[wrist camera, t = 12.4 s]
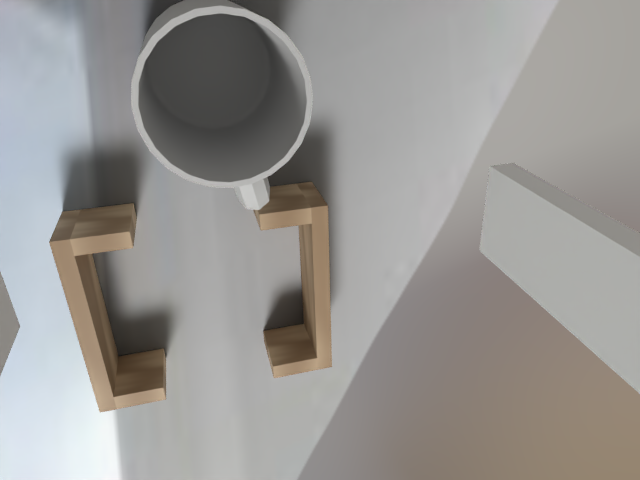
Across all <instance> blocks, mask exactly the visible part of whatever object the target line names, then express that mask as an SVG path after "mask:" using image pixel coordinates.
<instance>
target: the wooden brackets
mask: <svg viewBox="0 0 640 480" xmlns="http://www.w3.org/2000/svg"><path fill="white" fill-rule="evenodd" d="M254 213H255V216H256V219H257V221H258V224H259V227H260V230H268V229H275V228H282V227H290V226H297V225H299V241H300V261H301V280H302V299H303V318H304V324H299V325H293V326H288V327H282V328H277V329H271V330H265V331H263V332H264V342H265V346H266V350H267V354H268V357H269V361H270V365H271V369H272V373H273V376H274V378H278V377H283V376H288V375H293V374H298V373H303V372H308V371H313V370H318V369H323V368H328V367H332V355H331V312H330V270H329V228H328V205H327V203H326V202H325V200H324V199H323V198H322V196H321V195H320V193H319V192H318V190H317V189H316V187H315V186H314V184H313V183H312V182H305V183H297V184H288V185H280V186H272V187H270V197H269V202H268V203H267V204H266V205H264V206H263V207H262V208H261V209H260V210H254ZM136 220H137V217H136V212H135V207H134V203H130V204H122V205H113V206H105V207H97V208H88V209H80V210H72V211H63V212H62V214H61V216H60V218H59V221H58V223H57V225H56V228H55V230H54V232H53V234H52V237H51V239H50V241H49V243H50V246H51V249H52V253H53V256H54V260H55V263H56V266H57V270H58V273H59V276H60V280H61V283H62V286H63V290H64V293H65V296H66V300H67V303H68V307H69V310H70V313H71V317H72V320H73V323H74V327H75V330H76V333H77V337H78V340H79V344H80V347H81V350H82V354H83V357H84V360H85V364H86V367H87V370H88V374H89V377H90V381H91V384H92V387H93V391H94V394H95V397H96V401H97V404H98V407H99V411H100V412H105V411H110V410H115V409H120V408H125V407H130V406H135V405H140V404H145V403H150V402H155V401H161V400H166V357H165V352H164V348H163V349H158V350H152V351H147V352H141V353H135V354H130V355H124V356H118V353H117V349H116V345H115V341H114V337H113V333H112V329H111V325H110V322H109V318H108V314H107V310H106V306H105V302H104V298H103V295H102V291H101V287H100V283H99V279H98V275H97V271H96V267H95V264H94V260H93V256H92V254H93V253H100V252H107V251H115V250H122V249H129V248H133V245H134V237H135V228H136Z"/></svg>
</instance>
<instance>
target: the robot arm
mask: <svg viewBox="0 0 640 480" xmlns="http://www.w3.org/2000/svg"><path fill="white" fill-rule="evenodd" d="M480 252H482V253H483V254H484V255H485V256H486V257H487V258H488V259H489V260H491V261H492V262H493V263H494V264H495V265H496V266H497V267H498V268H499V269H501V270H502V271H503V272H504V273H505V274H506V275H508V277H510V278H511V279H512V280H513V281H514V282H515V283H516V284H517V285H518V286H520V287H521V288H522V289H523V290H524V291H525V292H526V293H527V294H529V295H530V296H531V297H532V298H533V299H534V300H535V301H536V302H538V303H539V304H540V305H541V306H542V307H543V308H544V309H545V310H547V311H548V312H549V313H550V314H551V315H552V316H553V317H554V318H555V319H557V320H558V321H559V322H560V323H561V324H562V325H563V326H564V327H566V328H567V329H568V330H569V331H570V332H571V333H572V334H573V335H574V336H576V337H577V338H578V339H579V340H580V341H581V342H582V343H584V344H585V345H586V346H587V347H588V348H589V349H590V350H591V351H593V352H594V353H595V354H596V355H597V356H598V357H599V358H600V359H602V360H603V361H604V362H605V363H606V364H607V365H608V366H609V367H610V368H611V369H613V370H614V371H615V372H616V373H617V374H618V375H619V376H620V377H622V378H623V379H624V380H625V381H626V382H627V383H628V384H629V385H630V386H632V387H633V388H634V389H635V390H636V391H637V392H638V393H639V394H640V233H639V232H637V231H635V230H633V229H631V228H630V227H628V226H626V225H624V224H622V223H620V222H619V221H617V220H615V219H613V218H612V217H610V216H608V215H606V214H604V213H603V212H601V211H599V210H597V209H595V208H594V207H592V206H590V205H588V204H586V203H585V202H583V201H581V200H579V199H577V198H576V197H574V196H572V195H570V194H568V193H566V192H565V191H563V190H561V189H559V188H558V187H556V186H554V185H552V184H550V183H548V182H547V181H545V180H543V179H541V178H540V177H537V176H536V175H534V174H532V173H530V172H528V171H527V170H525V169H523V168H521V167H520V166H518V165H516V164H514V163H510V164H502V165H494V166H490V168H489V175H488V184H487V192H486V200H485V209H484V217H483V225H482V234H481V242H480ZM19 328H20V325H19V322H18V319H17V316H16V314H15V311H14V308H13V305H12V302H11V300H10V297H9V294H8V291H7V289H6V286H5V283H4V280H3V278H2V275H1V272H0V375H1V372H2V370H3V367H4V365H5V363H6V360H7V358H8V355H9V353H10V350H11V348H12V345H13V343H14V340H15V338H16V335H17V333H18V330H19Z"/></svg>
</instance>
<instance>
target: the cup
mask: <svg viewBox="0 0 640 480" xmlns="http://www.w3.org/2000/svg"><path fill="white" fill-rule="evenodd" d="M312 106H313V95H312V86H311V77H310V75H309V72H308V70H307V67H306V64H305V62H304V59H303V56H302V55H301V53H300V52H299V50H298V49H297V48H296V46H295V45H294V43H293V42H292V41H291V39H290V38H289V36H288V35H287V34H285V33H284V32H283V31H282V30H280V29H279V28H278V27H277V26H276V25H274V24H273V23H272V22H271V21H270V20H268V19H266V18H264V17H262V16H260V15H258V14H256V13H254V12H252V11H250V10H248V9H246V8H244V7H242V6H240V5H237V4H235V3H233V2H231V1H229V0H183V1H181V2H179V3H177V4H174V5H172V6H170V7H169V8H168V9H167V10H165V11H164V12H163V13H162V14H161V15H160V16H158V17H157V18H156V19H155V21H154V22H153V24H152V26H151V27H150V29H149V30H148V32H147V33H146V35H145V38H144V41H143V44H142V48H141V51H140V54H139V57H138V60H137V64H136V67H135V71H134V74H133V78H132V81H131V107H132V111H133V115H134V118H135V122H136V126H137V130H138V132H139V133H140V135H141V137H142V139H143V140H144V142H145V144H146V145H147V147H148V149H149V150H150V152H151V153H152V154H153V155H154V156H155V157H156V158H157V159H158V160H159V161H160V162H161V163H162V164H163V165H164V166H165V167H166V168H167V169H169V170H170V171H172V172H174V173H175V174H177V175H179V176H180V177H182V178H184V179H186V180H188V181H191V182H194V183H197V184H201V185H204V186H207V187H221V188H233V187H234V190H235V193H236V196H237V198H238V200H239V201H240V202H241V203H242V205H243V206H244V207H245V208H246V209H252V210H260V209H261V208H262V207H263V206H264V205H266V204H267V203H268V202H269V197H270V186H269V181H268V178H267V177H268V176H270V175H272V174H273V173H274V172H276V171H277V170H278V169H279V168H281V167H282V166H283V165H284V164H286V163H287V162H288V161H289V160H290V158H291V157H292V156H293V154H294V153H295V152H296V150H297V149H298V148H299V146H300V145H301V144H302V141H303V139H304V136H305V134H306V132H307V129H308V127H309V124H310V120H311V113H312Z"/></svg>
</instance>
